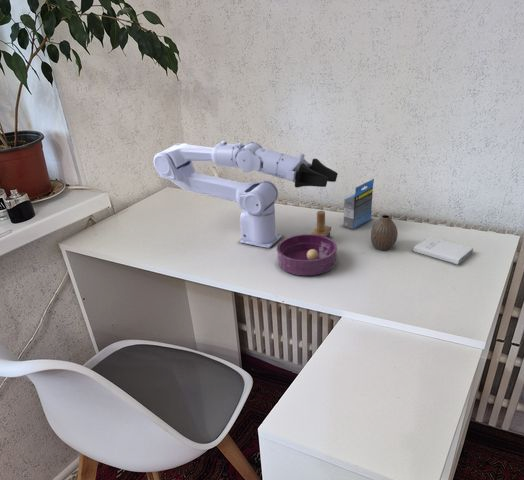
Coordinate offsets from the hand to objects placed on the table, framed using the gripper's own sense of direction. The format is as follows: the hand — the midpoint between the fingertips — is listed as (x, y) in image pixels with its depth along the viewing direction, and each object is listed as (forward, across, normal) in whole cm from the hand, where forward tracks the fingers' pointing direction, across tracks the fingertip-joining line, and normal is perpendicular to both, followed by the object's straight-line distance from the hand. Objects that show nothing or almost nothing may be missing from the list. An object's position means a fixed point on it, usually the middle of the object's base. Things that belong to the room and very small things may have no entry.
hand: (331, 179), depth 125 cm
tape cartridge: (+4, +23, +15) cm, 28 cm away
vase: (+16, +10, +16) cm, 24 cm away
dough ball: (+1, -4, +18) cm, 19 cm away
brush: (-2, +9, +19) cm, 21 cm away
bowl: (0, -4, +21) cm, 21 cm away
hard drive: (+30, +12, +13) cm, 35 cm away
